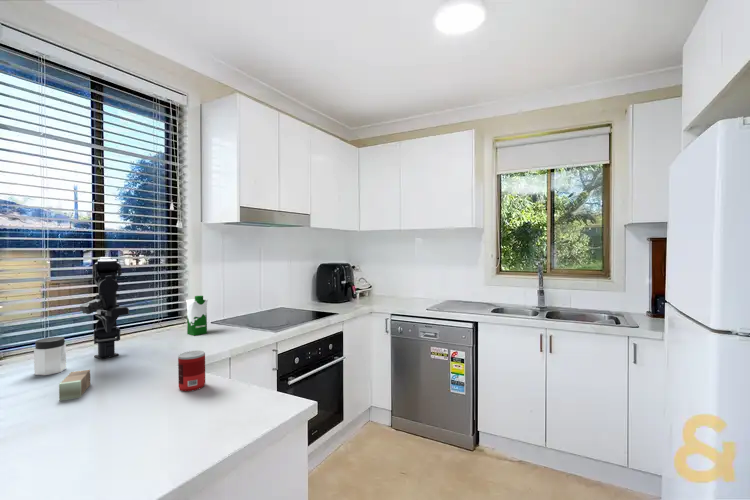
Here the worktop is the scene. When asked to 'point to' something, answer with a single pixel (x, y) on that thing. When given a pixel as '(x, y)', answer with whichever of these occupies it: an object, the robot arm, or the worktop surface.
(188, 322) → the milk carton
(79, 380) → the green and tan block
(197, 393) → the worktop surface
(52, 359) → the jar
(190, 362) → the canned food
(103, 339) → the robot arm
